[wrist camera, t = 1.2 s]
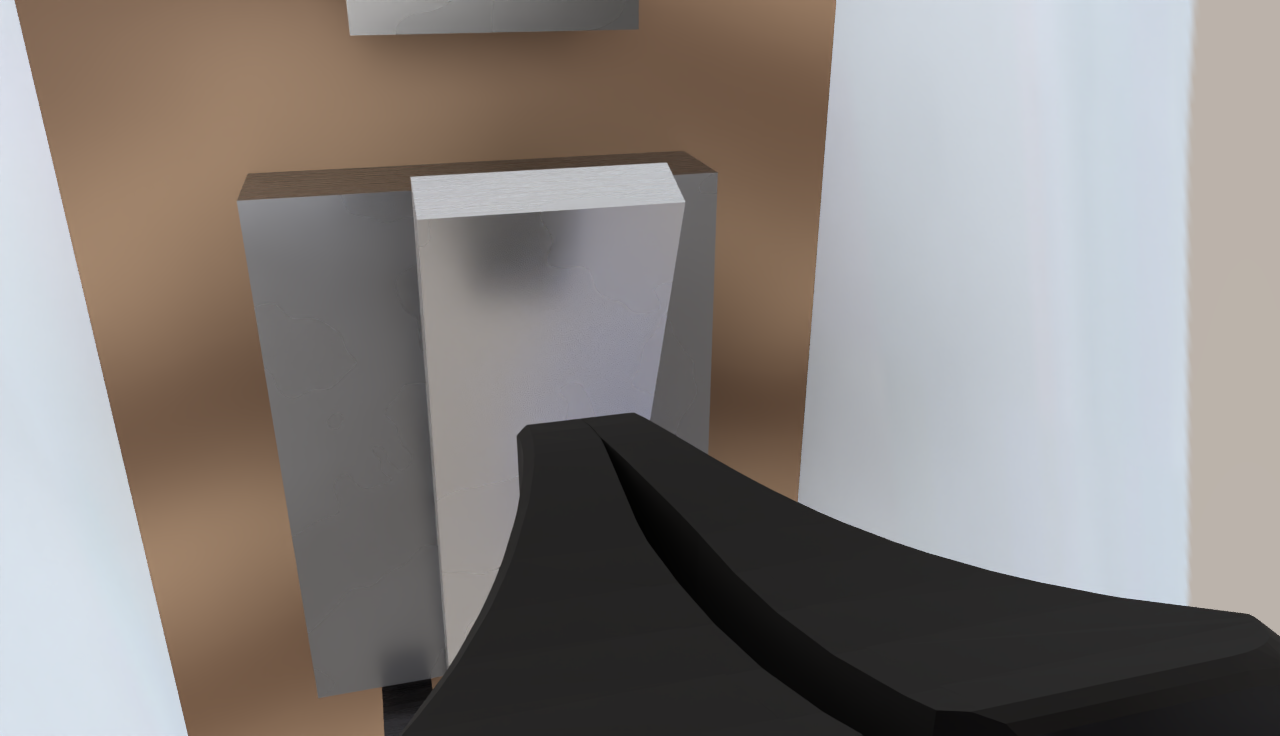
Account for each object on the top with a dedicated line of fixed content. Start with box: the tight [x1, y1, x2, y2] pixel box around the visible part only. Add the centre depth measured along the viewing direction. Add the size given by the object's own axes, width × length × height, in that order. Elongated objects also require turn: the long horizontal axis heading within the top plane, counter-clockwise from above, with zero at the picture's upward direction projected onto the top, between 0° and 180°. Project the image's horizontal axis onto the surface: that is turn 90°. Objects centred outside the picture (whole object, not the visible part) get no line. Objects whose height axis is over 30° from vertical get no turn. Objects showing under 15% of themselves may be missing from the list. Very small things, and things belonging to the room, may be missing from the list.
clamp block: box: [237, 0, 718, 736], centre depth 18 cm, size 16×8×4 cm, turn 179°
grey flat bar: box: [410, 163, 685, 669], centre depth 16 cm, size 14×3×1 cm, turn 179°
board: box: [15, 0, 836, 736], centre depth 21 cm, size 20×14×2 cm
